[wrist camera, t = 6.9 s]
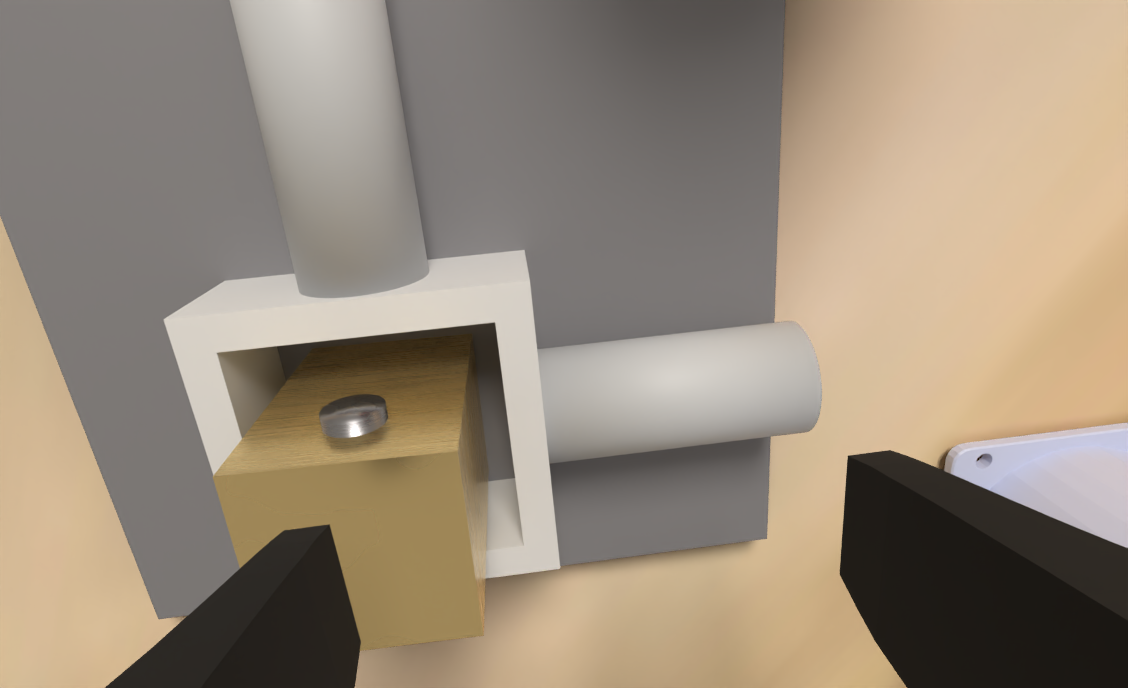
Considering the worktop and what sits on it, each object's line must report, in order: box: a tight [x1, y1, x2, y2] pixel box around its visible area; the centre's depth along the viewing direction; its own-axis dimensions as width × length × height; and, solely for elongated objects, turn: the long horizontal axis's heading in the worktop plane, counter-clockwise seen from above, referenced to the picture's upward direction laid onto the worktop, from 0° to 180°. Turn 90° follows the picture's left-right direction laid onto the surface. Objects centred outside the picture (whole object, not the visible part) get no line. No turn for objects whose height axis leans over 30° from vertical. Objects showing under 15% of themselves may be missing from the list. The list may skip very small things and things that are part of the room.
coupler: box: [213, 334, 489, 651], centre depth 14 cm, size 4×5×6 cm
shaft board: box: [0, 0, 822, 619], centre depth 15 cm, size 18×18×4 cm
